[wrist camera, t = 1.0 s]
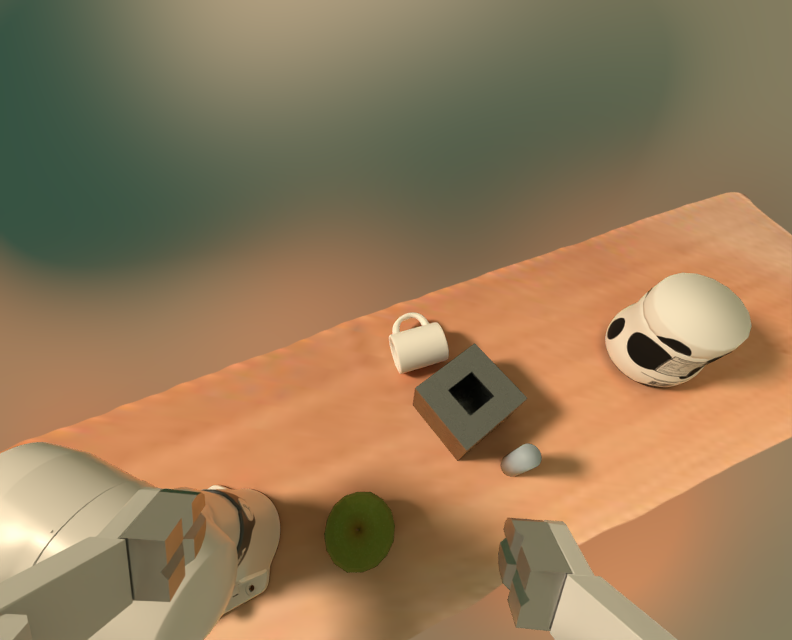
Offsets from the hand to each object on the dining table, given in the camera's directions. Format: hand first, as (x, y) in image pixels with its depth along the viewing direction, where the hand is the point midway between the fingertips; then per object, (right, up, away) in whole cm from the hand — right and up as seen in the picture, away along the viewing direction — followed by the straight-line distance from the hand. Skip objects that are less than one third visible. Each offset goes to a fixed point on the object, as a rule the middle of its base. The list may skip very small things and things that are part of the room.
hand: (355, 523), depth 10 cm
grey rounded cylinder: (+22, -21, +58) cm, 65 cm away
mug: (+5, 0, +69) cm, 70 cm away
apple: (-4, -30, +53) cm, 61 cm away
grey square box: (+14, -12, +63) cm, 65 cm away
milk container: (+53, -1, +69) cm, 87 cm away
